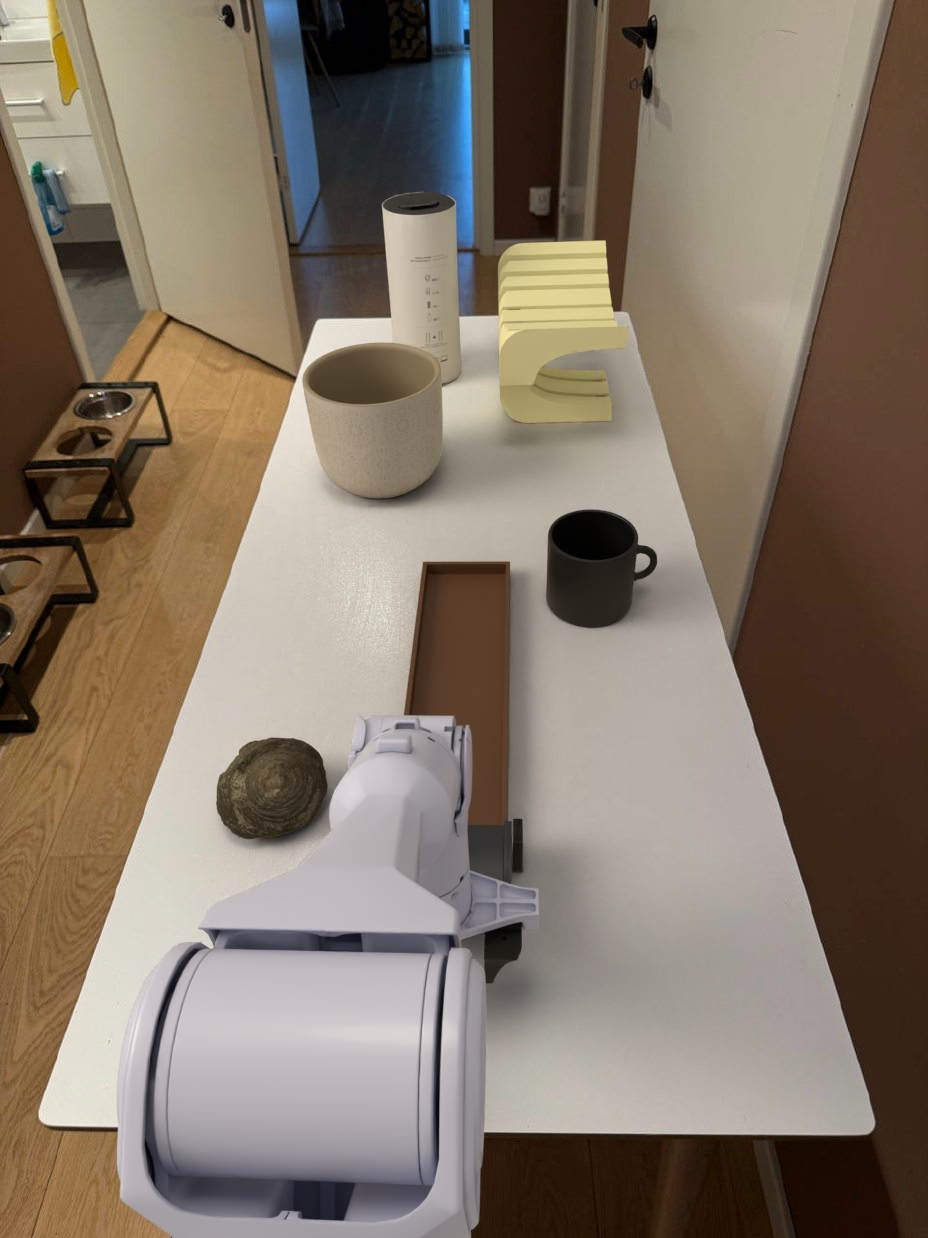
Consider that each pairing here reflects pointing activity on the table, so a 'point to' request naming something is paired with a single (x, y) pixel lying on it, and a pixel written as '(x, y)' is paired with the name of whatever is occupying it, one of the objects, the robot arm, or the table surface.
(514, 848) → the bracket
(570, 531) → the mug
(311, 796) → the seashell
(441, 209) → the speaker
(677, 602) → the table surface
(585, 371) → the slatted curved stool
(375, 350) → the planter
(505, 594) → the tray
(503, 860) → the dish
